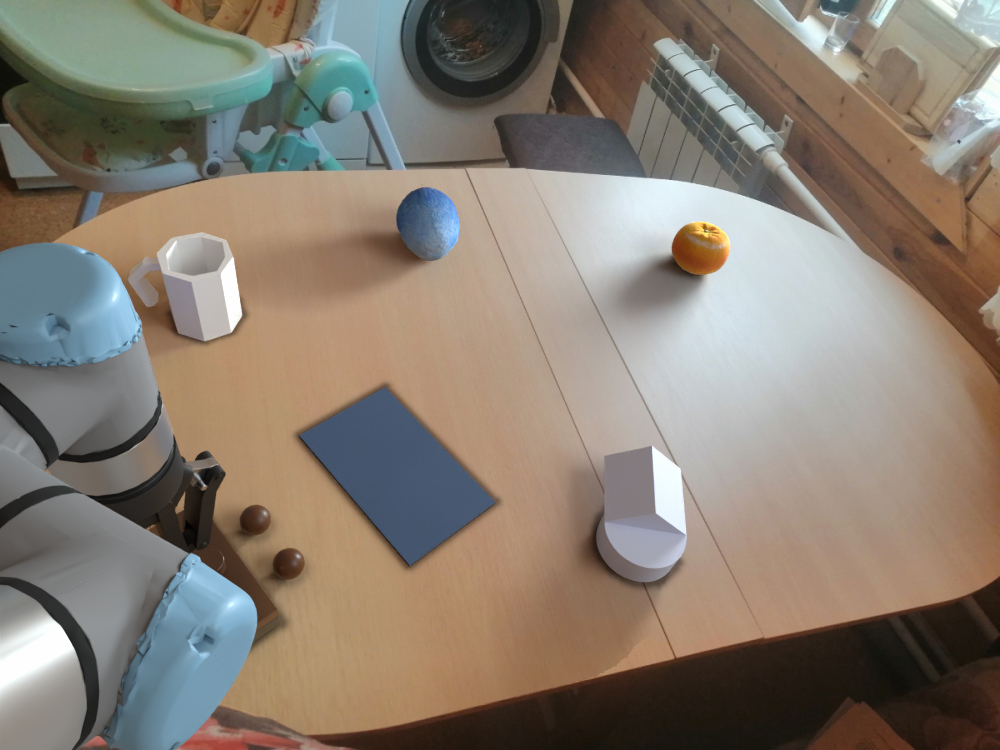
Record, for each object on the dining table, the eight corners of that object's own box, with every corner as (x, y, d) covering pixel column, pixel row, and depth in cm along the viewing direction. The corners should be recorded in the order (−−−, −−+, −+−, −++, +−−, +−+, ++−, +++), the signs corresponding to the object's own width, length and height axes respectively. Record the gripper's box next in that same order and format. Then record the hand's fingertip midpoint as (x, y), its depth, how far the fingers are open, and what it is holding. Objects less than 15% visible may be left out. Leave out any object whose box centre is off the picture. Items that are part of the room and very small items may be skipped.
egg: (440, 151, 104) (453, 220, 95) (458, 195, 111) (472, 264, 102) (383, 169, 105) (391, 240, 96) (405, 212, 112) (413, 282, 103)
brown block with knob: (231, 658, 65) (224, 638, 61) (156, 546, 71) (145, 521, 67) (280, 623, 68) (276, 602, 64) (204, 518, 73) (196, 492, 69)
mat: (409, 566, 74) (409, 565, 73) (299, 436, 81) (299, 435, 81) (495, 502, 80) (495, 502, 80) (385, 387, 88) (385, 387, 88)
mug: (245, 292, 94) (236, 233, 86) (238, 342, 88) (228, 283, 81) (146, 290, 91) (128, 228, 84) (132, 340, 86) (112, 279, 79)
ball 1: (251, 546, 72) (248, 532, 70) (235, 524, 73) (232, 510, 71) (277, 529, 74) (275, 515, 72) (262, 508, 75) (259, 494, 73)
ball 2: (284, 591, 70) (282, 577, 68) (267, 568, 71) (265, 554, 69) (311, 572, 71) (310, 559, 69) (294, 550, 73) (292, 536, 70)
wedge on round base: (596, 471, 85) (596, 574, 76) (612, 438, 80) (613, 545, 71) (670, 484, 85) (678, 588, 77) (691, 452, 80) (702, 560, 72)
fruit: (708, 221, 115) (717, 202, 107) (734, 267, 113) (745, 251, 105) (660, 244, 115) (665, 227, 107) (685, 291, 114) (692, 276, 106)
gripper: (179, 370, 53) (222, 525, 70) (-18, 462, 46) (85, 607, 64) (234, 439, 50) (264, 582, 67) (32, 547, 43) (125, 675, 61)
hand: (177, 594), depth 65 cm, fingers closed
